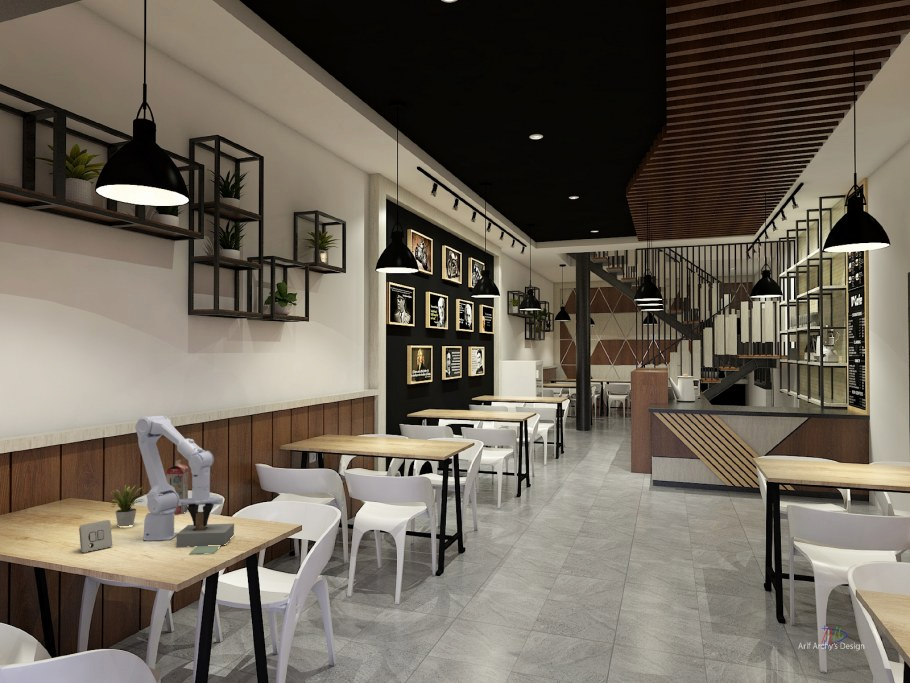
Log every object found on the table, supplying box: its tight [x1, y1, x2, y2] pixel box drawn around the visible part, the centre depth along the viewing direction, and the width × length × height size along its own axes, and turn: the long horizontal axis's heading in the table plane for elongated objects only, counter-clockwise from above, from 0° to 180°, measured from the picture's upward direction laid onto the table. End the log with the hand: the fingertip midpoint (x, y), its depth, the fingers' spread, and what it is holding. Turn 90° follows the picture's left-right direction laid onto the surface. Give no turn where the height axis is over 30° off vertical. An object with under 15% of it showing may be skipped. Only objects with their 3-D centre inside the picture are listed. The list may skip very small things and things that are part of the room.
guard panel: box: [175, 523, 235, 548], centre depth 212 cm, size 16×12×4 cm
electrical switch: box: [78, 519, 113, 553], centre depth 204 cm, size 9×5×9 cm, turn 141°
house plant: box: [109, 483, 148, 526], centre depth 231 cm, size 14×14×16 cm
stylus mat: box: [188, 546, 219, 555], centre depth 202 cm, size 8×8×1 cm
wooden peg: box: [196, 511, 206, 531], centre depth 212 cm, size 3×3×8 cm
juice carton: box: [166, 459, 189, 515], centre depth 255 cm, size 7×7×22 cm
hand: (200, 525), depth 212 cm, fingers closed on wooden peg, 3 cm apart
